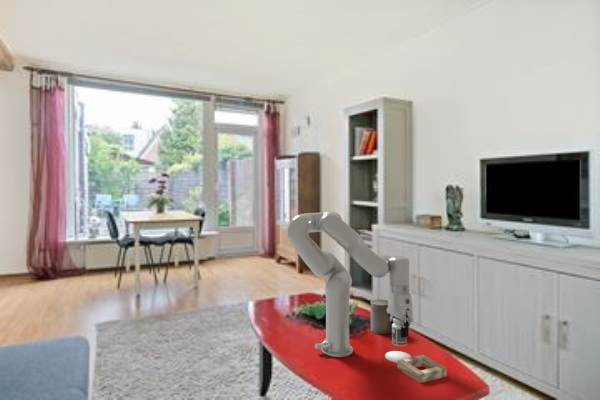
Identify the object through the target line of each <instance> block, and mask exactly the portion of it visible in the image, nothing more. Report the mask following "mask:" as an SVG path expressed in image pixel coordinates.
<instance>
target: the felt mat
mask: <svg viewBox="0 0 600 400" xmlns="http://www.w3.org/2000/svg"><path fill="white" fill-rule="evenodd" d="M384 355H385V356H384V357H385V359H386V360H387V361H389V362H392V363H395V364H397V362H398V360H401V359H406V358H410V357H412V356H411V354H409V353H407V352H404V351H398V350H392V351H391V350H390V351H388V352H386V353H385V354H384Z"/></svg>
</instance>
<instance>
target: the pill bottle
mask: <svg viewBox="0 0 600 400" xmlns="http://www.w3.org/2000/svg"><path fill="white" fill-rule="evenodd" d="M393 322H394V323H393V324H392V332H391V343H392V344H393V346H396V347H404V346H407V345H408V337H404V338H402V337H401V327H402V324H401V319H399V318H397V317H394V318H393ZM405 322H406V320H404V323H405Z"/></svg>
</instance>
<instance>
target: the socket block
mask: <svg viewBox="0 0 600 400" xmlns="http://www.w3.org/2000/svg"><path fill="white" fill-rule="evenodd" d="M396 365H397V366H396V367H397V370H399V371H400V372H401V373H404V374H405V375H407V376H408V377H409V378H411V379H412V380H414V381H416V382H418V383H419V384H421V383H426V382H430V381H434V380H435V381H436V380H438V379H442V378H446V377H447V367H445V366H444V365H441V364H440V363H438V362H436V361H435V360H433V359H431V358H429V357H428V356H426V355H424V354H420V355H415V356H411V357H410V358H406V359H401V360H398V362H397V363H396ZM420 367H423V368H425V369H423V370H422V369H421V370H420V369H419V368H420Z"/></svg>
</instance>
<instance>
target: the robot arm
mask: <svg viewBox="0 0 600 400" xmlns="http://www.w3.org/2000/svg"><path fill="white" fill-rule="evenodd" d="M317 232H318V233H323V232H324V233H325V234H326V235H327V236H328V237H329V238H330V239H332V240H333V241H334V242H335V243H337V244H338V246H340V247H341V248H343V249H344V251H346V253H347V254H348V255H349V256H350V257H351V258H352V259H353V260H354V261H355V262H356V263H357V264H358V265H359V266H360V267H361V268H362V269H363V270H365V271H366V272H367V273H368V274H369V275H371V276H372V277H374V278H377V279H381V278H384V277H385V276H386V275H388V273H389V290H388V295H387V300H388V308H387V309H386V311H387V313H388V316H389V318H390V319H389V320H390V321H391V322H390V331H391V333H392V324H393V323H394V322H393V318H394V317H397V318H399V319H401V324H402V327H401V337H402V338H404V337H407V338H409V336H410V335H409V327H411V325H412V323H414V321H415V320H414V319H413V315H414V314H413V313H414V312H413V301H412V295H411V293H410V260H409V258H408V257H405V256H400V255H398V256H390V255H384V254H377V253H376V252H375V251H373V250H372V249H371V248H370V247H369V246H368V245H367V244H366V243H365V241H364V239H363V237H362V236H361V235H360V233H358V232H357V231H356V230H355V229H354V228H352V227H351V226H350V225H349V224H347V223H346V222H345V221H344V220H343V218H342V216H341V215H340V214H339V213H337V212H335V211H327V212H305V213H300V214H298V215H295V216H294V217H293V218H292V219H291V220H290V222H289V224H288V227H287V239H288V241H289V243H290V245H291V247H292V248H293V250H294V251H295V252H296V253H297V254H298V256H299V257H300V258H301V260H303V262H304V263H305V265H306V266H307V267H308V268H309V270H310V271H311V273H313V274H314V275H315V276H317V277H320V278H321V277H322V278H323V277H324V278H325V279H326V282H325V287H324V291H325V292H324V293H325V338H324V339H323V341H322V342H321V343H315V344H314V347H315V349H316V350H318V349H320V350H321V351H322V352H323V354H325V355H326V356H329V357H333V358H345V357H348V356H350V355H353V352H354V347H352V346H351V345H350V290H351V288H352V285H353V278H352V276H351V274H350V272H349V271H348V270H347V269H346V268H345V267H344V265H343V264H342V263H341V262H340V261H339V260H338V258H337V257H336V256H335V255H334V254H333V253H332V252H330V251H328V250H322V249H321V248H320V246H319V245H318V244H317V243H316V242H315V241H314V239H312V238H311V237H310V235H309V233H317ZM404 320H405V323H404Z"/></svg>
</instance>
